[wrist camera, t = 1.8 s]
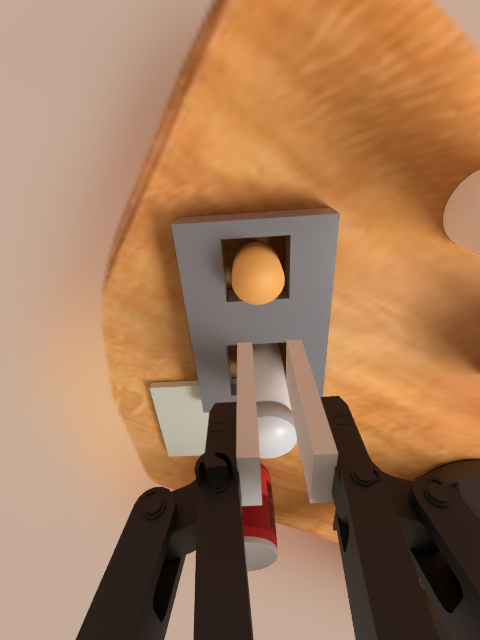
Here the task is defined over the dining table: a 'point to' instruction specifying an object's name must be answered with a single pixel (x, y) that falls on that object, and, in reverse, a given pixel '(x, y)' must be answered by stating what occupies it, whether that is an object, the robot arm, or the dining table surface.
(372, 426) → the dining table surface
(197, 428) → the mat
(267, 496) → the canned food
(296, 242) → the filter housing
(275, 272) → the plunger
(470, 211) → the cylindrical container
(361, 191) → the dining table surface
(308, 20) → the dining table surface
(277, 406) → the cartridge
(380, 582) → the robot arm
